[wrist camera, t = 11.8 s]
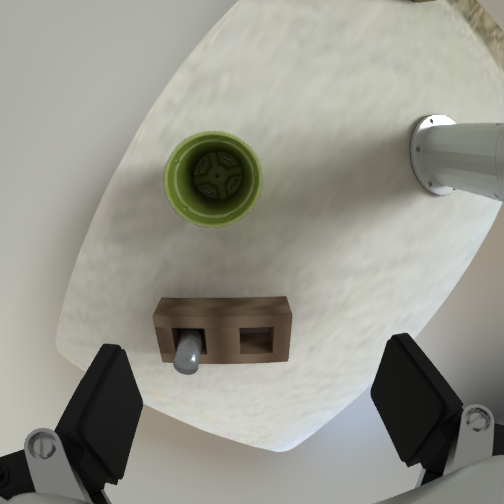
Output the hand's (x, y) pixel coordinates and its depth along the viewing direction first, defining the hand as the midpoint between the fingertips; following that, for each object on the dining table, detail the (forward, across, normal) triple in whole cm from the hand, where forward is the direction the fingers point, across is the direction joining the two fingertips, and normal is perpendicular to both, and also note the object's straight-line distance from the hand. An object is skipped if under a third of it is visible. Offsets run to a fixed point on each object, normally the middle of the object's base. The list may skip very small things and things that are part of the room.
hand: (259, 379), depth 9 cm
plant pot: (+28, +3, -5) cm, 29 cm away
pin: (+28, +7, +16) cm, 33 cm away
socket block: (+28, +3, +16) cm, 33 cm away
